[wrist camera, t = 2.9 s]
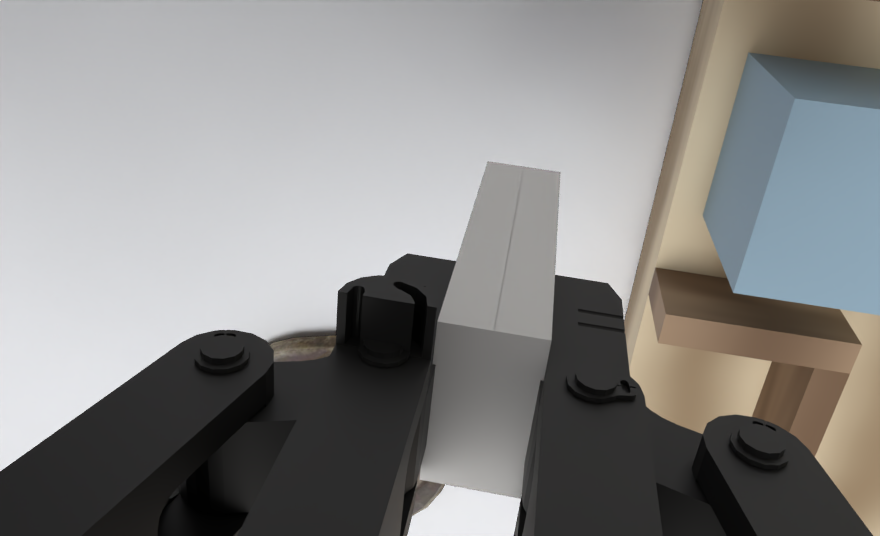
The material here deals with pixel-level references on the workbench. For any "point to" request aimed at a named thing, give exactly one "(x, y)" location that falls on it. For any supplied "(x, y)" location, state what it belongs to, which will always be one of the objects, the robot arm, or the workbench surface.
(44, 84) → the workbench surface
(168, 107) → the workbench surface
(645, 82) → the workbench surface
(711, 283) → the tan flat ridged piece
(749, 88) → the block
